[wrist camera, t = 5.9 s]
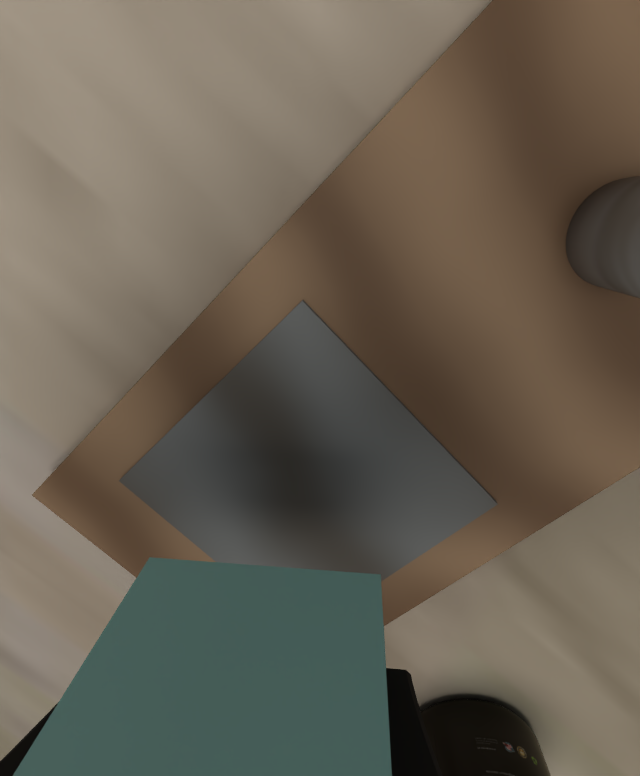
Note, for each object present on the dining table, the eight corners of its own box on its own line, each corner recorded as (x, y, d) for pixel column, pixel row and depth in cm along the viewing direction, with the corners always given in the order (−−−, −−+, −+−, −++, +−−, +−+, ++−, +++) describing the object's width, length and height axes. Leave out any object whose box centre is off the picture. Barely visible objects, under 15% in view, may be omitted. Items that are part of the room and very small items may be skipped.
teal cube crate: (380, 574, 9) (400, 924, 5) (368, 733, 11) (373, 1102, 6) (149, 557, 10) (-43, 864, 5) (172, 713, 12) (44, 1049, 7)
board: (753, -269, 10) (1072, -666, 6) (995, 201, 13) (1345, 191, 8) (55, 475, 19) (-41, 556, 15) (284, 660, 22) (264, 778, 18)
